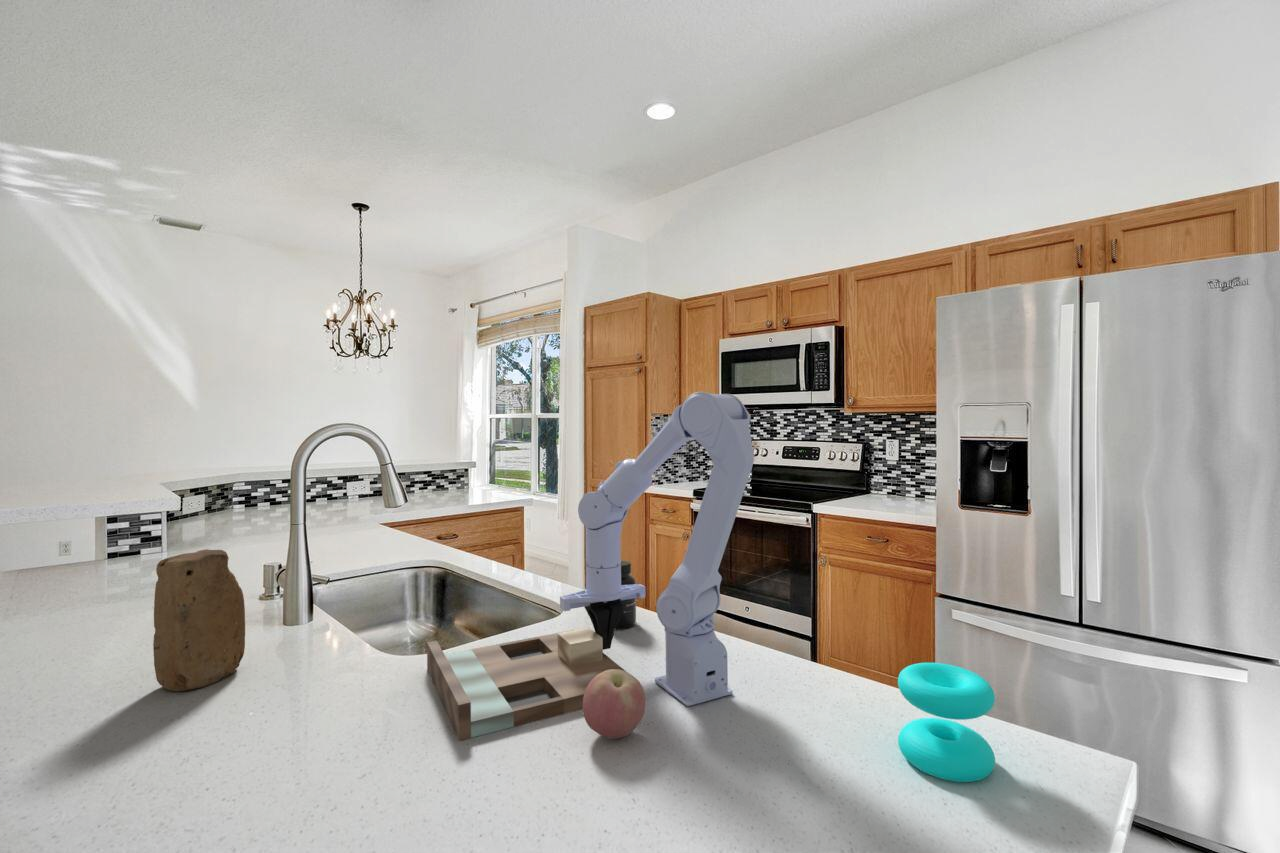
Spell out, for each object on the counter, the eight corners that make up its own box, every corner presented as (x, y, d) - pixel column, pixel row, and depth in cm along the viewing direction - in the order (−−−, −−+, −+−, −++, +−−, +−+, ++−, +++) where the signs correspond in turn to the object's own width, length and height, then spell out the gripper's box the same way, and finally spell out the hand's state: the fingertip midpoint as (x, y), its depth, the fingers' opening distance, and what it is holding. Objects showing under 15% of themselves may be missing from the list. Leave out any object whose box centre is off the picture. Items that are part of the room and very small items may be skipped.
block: (176, 698, 87) (173, 562, 87) (149, 689, 90) (146, 557, 90) (252, 670, 97) (250, 547, 97) (225, 662, 100) (223, 543, 100)
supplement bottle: (635, 630, 114) (635, 567, 114) (600, 630, 114) (599, 567, 114) (636, 618, 121) (636, 558, 120) (603, 618, 121) (602, 559, 121)
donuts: (1005, 675, 69) (978, 704, 62) (1006, 761, 69) (979, 800, 62) (916, 652, 76) (883, 676, 69) (917, 730, 76) (884, 761, 69)
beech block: (602, 659, 95) (602, 637, 95) (570, 666, 92) (570, 644, 92) (588, 648, 99) (588, 627, 99) (557, 654, 97) (557, 633, 97)
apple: (589, 757, 71) (588, 690, 71) (578, 725, 78) (577, 664, 78) (652, 746, 73) (652, 681, 73) (636, 717, 80) (636, 657, 80)
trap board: (638, 694, 87) (637, 663, 87) (459, 740, 75) (458, 705, 75) (574, 640, 108) (574, 616, 108) (427, 669, 96) (426, 642, 96)
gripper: (631, 554, 105) (632, 631, 105) (553, 564, 98) (553, 647, 98) (651, 562, 98) (652, 644, 99) (568, 574, 92) (569, 662, 92)
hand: (604, 647), depth 98 cm, fingers closed
